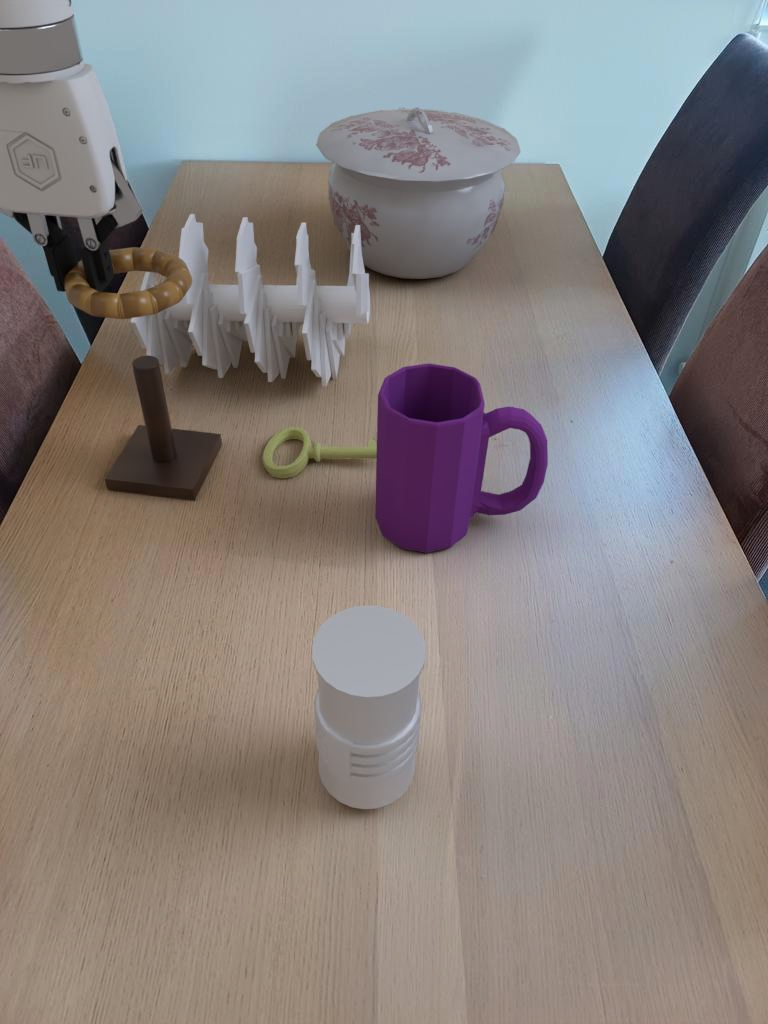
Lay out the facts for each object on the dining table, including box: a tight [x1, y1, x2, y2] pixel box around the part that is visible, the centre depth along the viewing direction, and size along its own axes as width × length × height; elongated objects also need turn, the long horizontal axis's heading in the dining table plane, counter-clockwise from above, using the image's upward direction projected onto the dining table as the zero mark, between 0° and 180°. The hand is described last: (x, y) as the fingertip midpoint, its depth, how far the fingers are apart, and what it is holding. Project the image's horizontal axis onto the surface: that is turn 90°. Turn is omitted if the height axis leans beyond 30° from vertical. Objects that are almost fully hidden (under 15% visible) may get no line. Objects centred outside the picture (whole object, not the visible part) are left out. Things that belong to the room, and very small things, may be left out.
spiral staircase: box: [130, 213, 371, 387], centre depth 91 cm, size 18×18×25 cm
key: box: [262, 426, 377, 479], centre depth 84 cm, size 7×12×2 cm, turn 102°
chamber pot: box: [316, 107, 522, 280], centre depth 112 cm, size 28×28×21 cm
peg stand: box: [104, 355, 223, 501], centre depth 78 cm, size 9×9×12 cm
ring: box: [64, 246, 192, 320], centre depth 69 cm, size 10×10×2 cm
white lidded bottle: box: [311, 604, 427, 810], centre depth 52 cm, size 7×7×15 cm
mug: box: [374, 362, 549, 554], centre depth 72 cm, size 9×16×15 cm, turn 92°
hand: (85, 284), depth 70 cm, fingers closed on ring, 2 cm apart
